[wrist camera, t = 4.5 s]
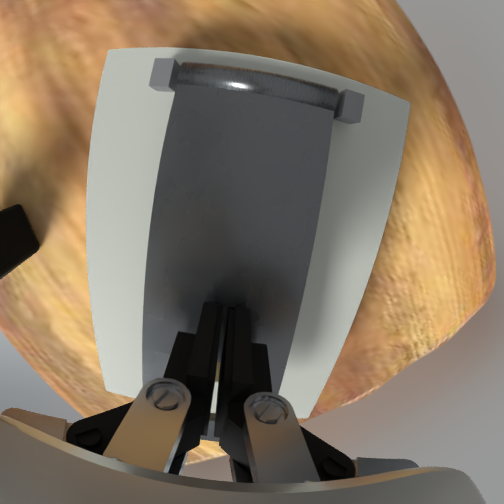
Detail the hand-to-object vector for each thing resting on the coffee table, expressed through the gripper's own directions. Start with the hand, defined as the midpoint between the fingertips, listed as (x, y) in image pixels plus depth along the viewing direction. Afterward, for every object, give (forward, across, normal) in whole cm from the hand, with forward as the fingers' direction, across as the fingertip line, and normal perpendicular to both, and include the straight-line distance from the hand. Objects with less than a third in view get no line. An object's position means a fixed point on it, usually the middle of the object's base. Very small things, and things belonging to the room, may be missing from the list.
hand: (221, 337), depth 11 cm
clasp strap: (+1, 0, -2) cm, 2 cm away
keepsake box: (+9, 0, -1) cm, 9 cm away
